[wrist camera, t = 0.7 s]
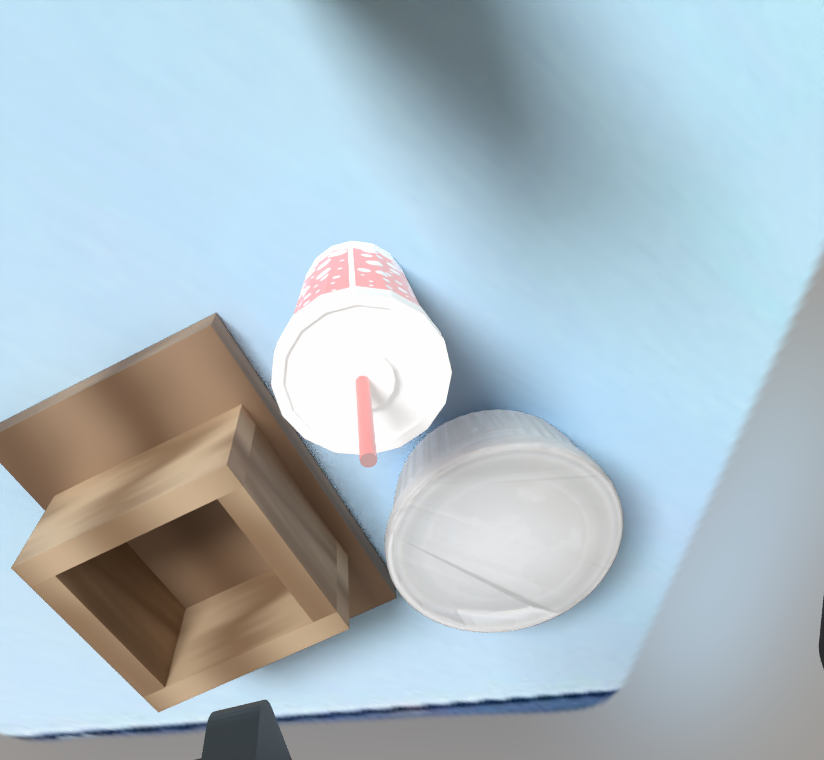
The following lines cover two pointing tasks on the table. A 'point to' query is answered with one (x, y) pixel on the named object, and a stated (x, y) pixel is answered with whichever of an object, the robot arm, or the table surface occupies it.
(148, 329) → the table surface
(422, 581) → the ramekin
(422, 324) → the beverage cup
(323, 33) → the table surface
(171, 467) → the cup holder
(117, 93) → the table surface
